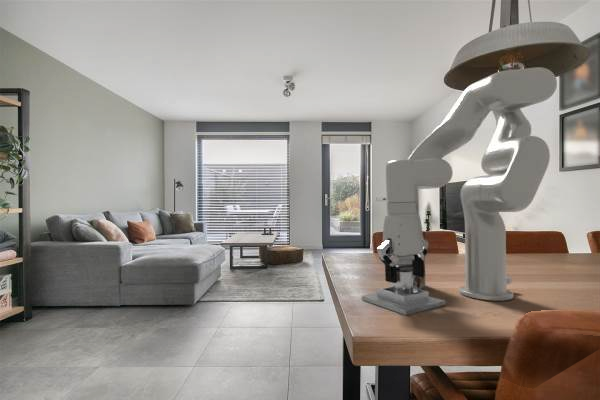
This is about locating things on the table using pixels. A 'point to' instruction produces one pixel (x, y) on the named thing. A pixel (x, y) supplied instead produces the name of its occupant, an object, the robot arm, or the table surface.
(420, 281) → the coffee box
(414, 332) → the table surface
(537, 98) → the robot arm
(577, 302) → the table surface
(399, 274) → the grey jar with lid
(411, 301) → the collar
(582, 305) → the table surface
